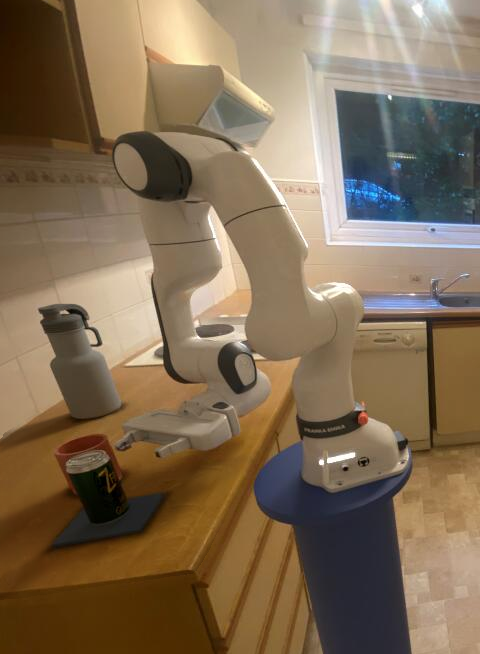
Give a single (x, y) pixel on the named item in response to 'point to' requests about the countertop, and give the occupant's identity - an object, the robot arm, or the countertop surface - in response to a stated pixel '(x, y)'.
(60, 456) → the terracotta cup
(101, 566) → the countertop surface
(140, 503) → the slate mat
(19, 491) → the countertop surface
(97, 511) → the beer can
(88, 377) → the water bottle
